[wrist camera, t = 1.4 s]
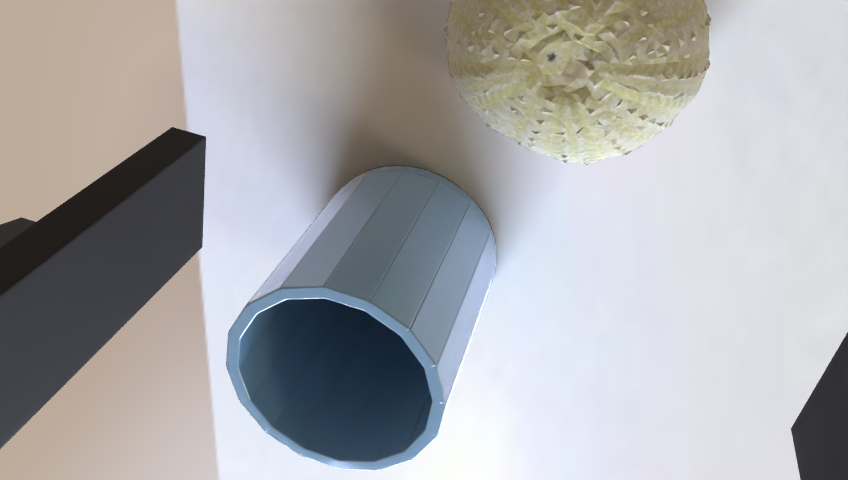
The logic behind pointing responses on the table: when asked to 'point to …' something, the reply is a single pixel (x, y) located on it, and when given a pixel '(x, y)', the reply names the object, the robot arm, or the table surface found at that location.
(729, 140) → the table surface
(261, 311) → the tumbler
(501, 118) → the sea urchin shell
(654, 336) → the table surface
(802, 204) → the table surface
